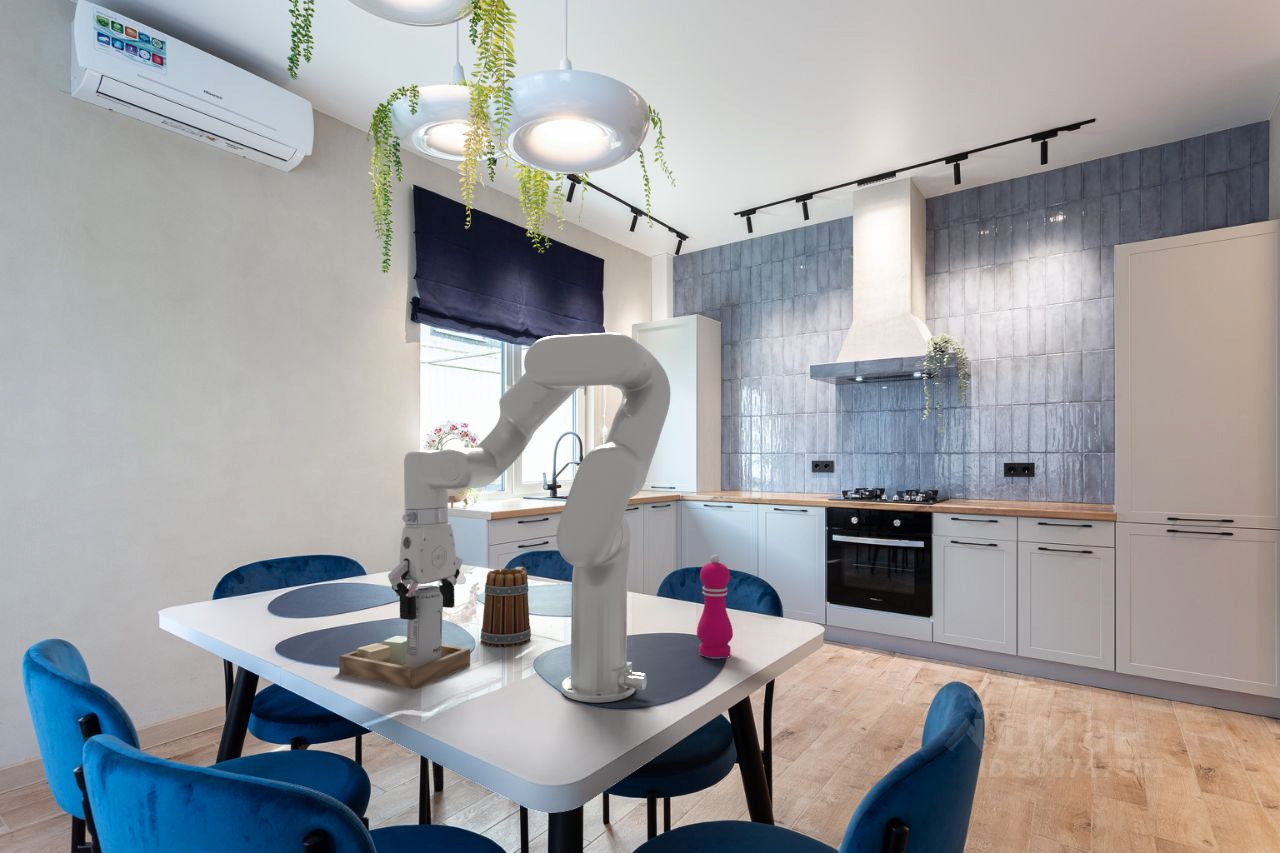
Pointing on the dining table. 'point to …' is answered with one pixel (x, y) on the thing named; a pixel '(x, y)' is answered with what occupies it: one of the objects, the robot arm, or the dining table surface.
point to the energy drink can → (425, 627)
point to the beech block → (375, 652)
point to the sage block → (397, 649)
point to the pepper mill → (714, 611)
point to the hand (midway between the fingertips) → (428, 612)
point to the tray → (406, 668)
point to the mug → (506, 608)
